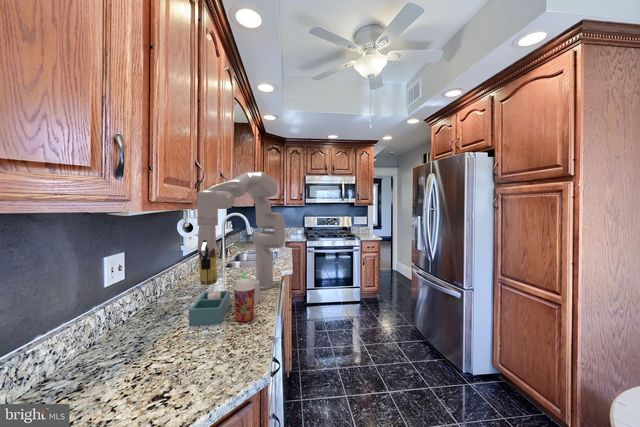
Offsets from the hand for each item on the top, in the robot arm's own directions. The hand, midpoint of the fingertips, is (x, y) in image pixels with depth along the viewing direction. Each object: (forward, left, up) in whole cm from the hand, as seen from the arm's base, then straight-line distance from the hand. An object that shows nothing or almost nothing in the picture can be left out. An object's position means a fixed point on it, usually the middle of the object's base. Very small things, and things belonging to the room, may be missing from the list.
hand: (208, 266), depth 108 cm
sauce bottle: (0, 0, -7) cm, 7 cm away
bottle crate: (-5, 0, -22) cm, 22 cm away
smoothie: (+2, +14, -22) cm, 26 cm away
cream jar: (-10, 0, -21) cm, 23 cm away
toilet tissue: (-18, +13, -22) cm, 31 cm away
